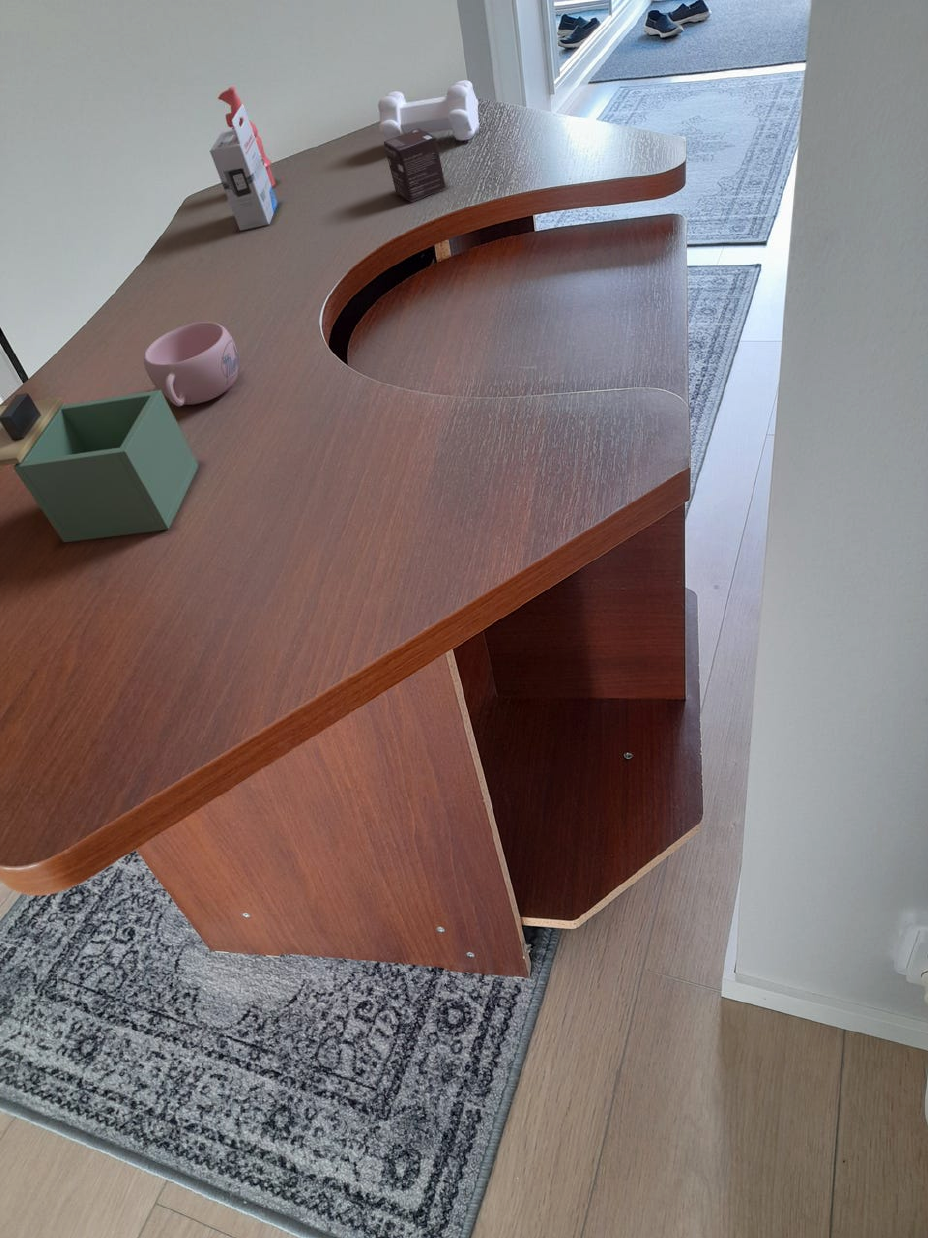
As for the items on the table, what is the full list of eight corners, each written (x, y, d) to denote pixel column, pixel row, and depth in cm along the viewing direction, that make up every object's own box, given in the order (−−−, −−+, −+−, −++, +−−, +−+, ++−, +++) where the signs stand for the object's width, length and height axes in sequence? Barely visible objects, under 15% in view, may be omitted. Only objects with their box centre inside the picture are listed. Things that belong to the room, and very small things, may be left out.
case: (168, 529, 83) (124, 451, 77) (63, 542, 86) (12, 467, 80) (198, 465, 90) (160, 389, 84) (100, 479, 93) (56, 405, 87)
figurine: (243, 194, 149) (207, 95, 139) (256, 182, 152) (222, 84, 142) (270, 191, 147) (235, 90, 137) (282, 178, 151) (249, 79, 140)
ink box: (249, 210, 143) (212, 109, 133) (279, 203, 142) (244, 101, 132) (239, 231, 137) (199, 127, 127) (269, 225, 136) (232, 119, 126)
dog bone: (384, 158, 147) (371, 104, 142) (400, 138, 153) (387, 86, 147) (471, 146, 143) (461, 89, 137) (484, 126, 148) (474, 71, 143)
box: (395, 193, 135) (382, 141, 129) (431, 179, 136) (419, 127, 130) (410, 203, 130) (397, 149, 125) (447, 189, 131) (436, 135, 126)
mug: (182, 371, 106) (160, 325, 102) (259, 362, 104) (239, 314, 100) (143, 429, 98) (118, 382, 94) (226, 420, 96) (203, 371, 92)
